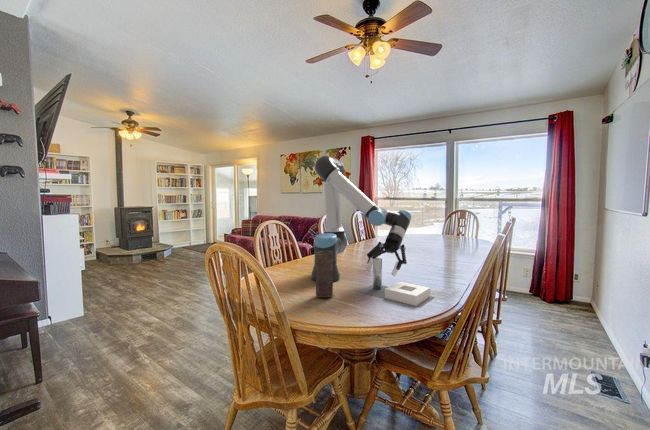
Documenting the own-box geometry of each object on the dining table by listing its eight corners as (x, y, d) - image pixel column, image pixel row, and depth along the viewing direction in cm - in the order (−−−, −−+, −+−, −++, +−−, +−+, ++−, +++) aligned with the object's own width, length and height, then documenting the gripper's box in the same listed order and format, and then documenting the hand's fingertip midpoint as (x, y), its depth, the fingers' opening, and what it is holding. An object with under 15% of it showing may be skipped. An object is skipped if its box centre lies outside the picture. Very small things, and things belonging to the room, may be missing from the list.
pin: (371, 288, 141) (371, 258, 140) (375, 286, 144) (376, 257, 143) (378, 290, 138) (379, 260, 137) (383, 288, 141) (383, 258, 140)
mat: (356, 292, 137) (356, 291, 137) (374, 284, 149) (374, 283, 149) (420, 309, 117) (420, 307, 117) (435, 298, 129) (435, 297, 129)
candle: (331, 300, 126) (331, 253, 125) (313, 299, 128) (314, 252, 126) (334, 294, 134) (334, 250, 132) (317, 293, 135) (318, 249, 134)
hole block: (384, 297, 128) (384, 288, 128) (399, 290, 139) (400, 281, 139) (416, 305, 119) (416, 296, 119) (429, 296, 130) (430, 287, 130)
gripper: (421, 244, 145) (407, 281, 135) (376, 239, 161) (360, 272, 150) (417, 234, 140) (402, 272, 130) (371, 230, 156) (354, 263, 146)
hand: (379, 272), depth 140 cm, fingers open, 13 cm apart
